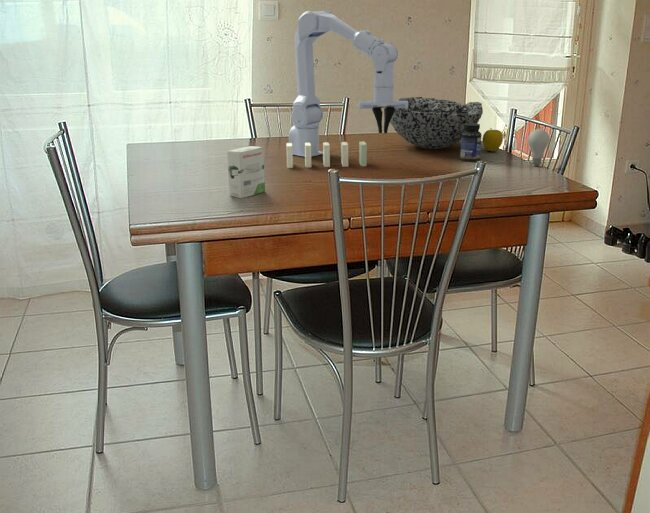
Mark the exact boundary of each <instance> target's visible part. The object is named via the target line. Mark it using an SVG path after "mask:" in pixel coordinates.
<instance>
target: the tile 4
mask: <svg viewBox="0 0 650 513" xmlns="http://www.w3.org/2000/svg"><path fill="white" fill-rule="evenodd" d="M340 158H341V160H340V164H341V165H342V167H343V168H345V167H349V144H348V142H347V141H340Z"/></svg>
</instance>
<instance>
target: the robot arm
mask: <svg viewBox="0 0 650 513" xmlns="http://www.w3.org/2000/svg"><path fill="white" fill-rule="evenodd" d="M330 31H331V32H333V33H335V34H337V35H338V36H341V37H342V38H344V39H346V40H348V41H350V42H351V43H352V46H353V48H354V49H356V50H357V51H358V52H361V53H362V54H364V55H366V56H367V57H368V58H370V60H371V61H372V63H373V71H374V72H373V73H374V75H373V76H374V77H373V100H369V101H368V100H365V101H364V100H363V101H358V109H359V110H363V109H371V111H372V113H373V115H374V118H375V121H376V125H377V129H378V130H377V131H378V134H383V133H384V134H388V129H389V126H390V124H391V123H390V120H391V118H392V116H393V114H394V112H395V109H394V108H408V101H399V100H394V85H395V84H394V82H395V61H396V60H397V59H398V56H399V51H398V48H397V47H396V45H395V44H393V43H392V42H385V40H384V39H383V38H378V37H376V36H374V35H373V34H372V31H370V30H368V29H366V30H364V29H363V30H359V31H358V30H357V29H355V28H354V27H352V26H350V25H349V24H347V23H346V22H345V21H343V20H341V19H340V18H338V17H337V16H336V15H335V14H333V13H330V12H329V11H327V10H321V11H311V10H310V11H309V10H306V11H304V12H303V13H302V14H301V15H300V16H299V17H298V18H297V28H296V32H295V34H294V54H295V71H296V72H295V73H296V88H297V89H296V90H297V97H296V98H295V100H294V101H293V103H292V110H291V114H290V119H291V122H292V124H293V126H292V127H290V130H289V132H288V143H292V152H293V155H294V156H299V157H304V158H305V143H310V144H311V158H312V157H316V156H320V155H323V151H321V150H320V149H319V148H320V147H319V146H320V140H319V139H320V134H319V128H320V127H319V126H320V123H321V122H322V120H323V117H324V113H323V112H324V111H323V109H322V107H321V102H320V99H319V98H318V97H317V96H316V87H315V84H316V83H315V68H314V66H315V65H314V49H313V47H314V46H313V45H314V43H315V42H316V41H317V40H318V38H319V37H321V36H322V35H324V34H326V33H328V32H330ZM389 105H390V106H389ZM382 109H383V110H382ZM383 113H384V114H383ZM383 118H384V119H383Z"/></svg>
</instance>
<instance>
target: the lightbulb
mask: <svg viewBox="0 0 650 513" xmlns="http://www.w3.org/2000/svg"><path fill="white" fill-rule="evenodd" d="M527 137H528V138H527V142H528V146H529V148H530V151H531V157H532V160H531V162H532V163H531V164H532V165H533V166H534V167H539V166H540V165H541V164H542V159H543V157H544V153H545V150H546V149H547V147H548V146H549V144H550V140H551V139H550V138H551V137H550V135H549V133H548V131H546V130H545V129H542V128H537V129H534V130H532V131H531V132H530V133H529V135H528V136H527Z"/></svg>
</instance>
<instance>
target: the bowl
mask: <svg viewBox="0 0 650 513" xmlns="http://www.w3.org/2000/svg"><path fill="white" fill-rule="evenodd" d="M398 101H408V108H394V109H395V112H394V114H393V116H392V118H391V120H390V123H389V124H391V126H392V127H393V128H394V131H395V132H396V133H397V134H398V135H399V136H400V137H402V138H403V139H404V140H405V141H406V142H407V143H410V144H411V145H413V146H415V147H420V148H422V149H427V150H439V149H445V148H448V147H452V146H453V145H456V144H457V143H459V142H461V134H462V132H464V131H465V129H464V124H466V123H477V124H479V122H480V120H481V118H482V116H483V112H484V109H483V105H482V104H483V103H482V102H480V101H469V102H467V103H465V104H462V103H461V102H457V101H452V100H447V99H440V98H439V99H438V98H437V99H436V98H434V97H422V96H410V97H400V98H399V99H398ZM389 106H390V105H389Z"/></svg>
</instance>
